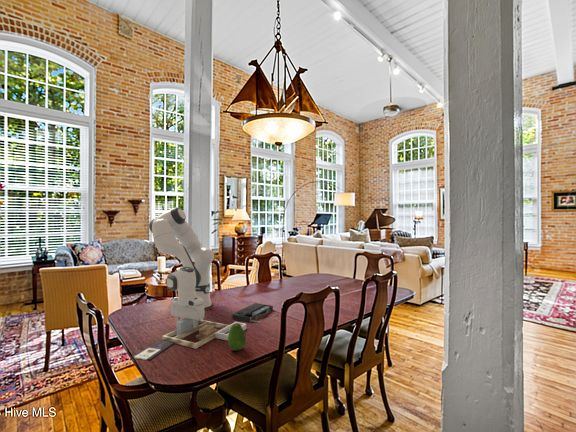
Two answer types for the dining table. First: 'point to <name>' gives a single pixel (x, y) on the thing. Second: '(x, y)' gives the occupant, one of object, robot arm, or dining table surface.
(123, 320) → the dining table surface
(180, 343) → the frame
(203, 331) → the offcut top
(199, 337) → the offcut low
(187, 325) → the pale grey rectangular block
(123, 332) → the dining table surface
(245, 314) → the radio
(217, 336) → the cradle
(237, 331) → the avocado
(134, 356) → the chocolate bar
